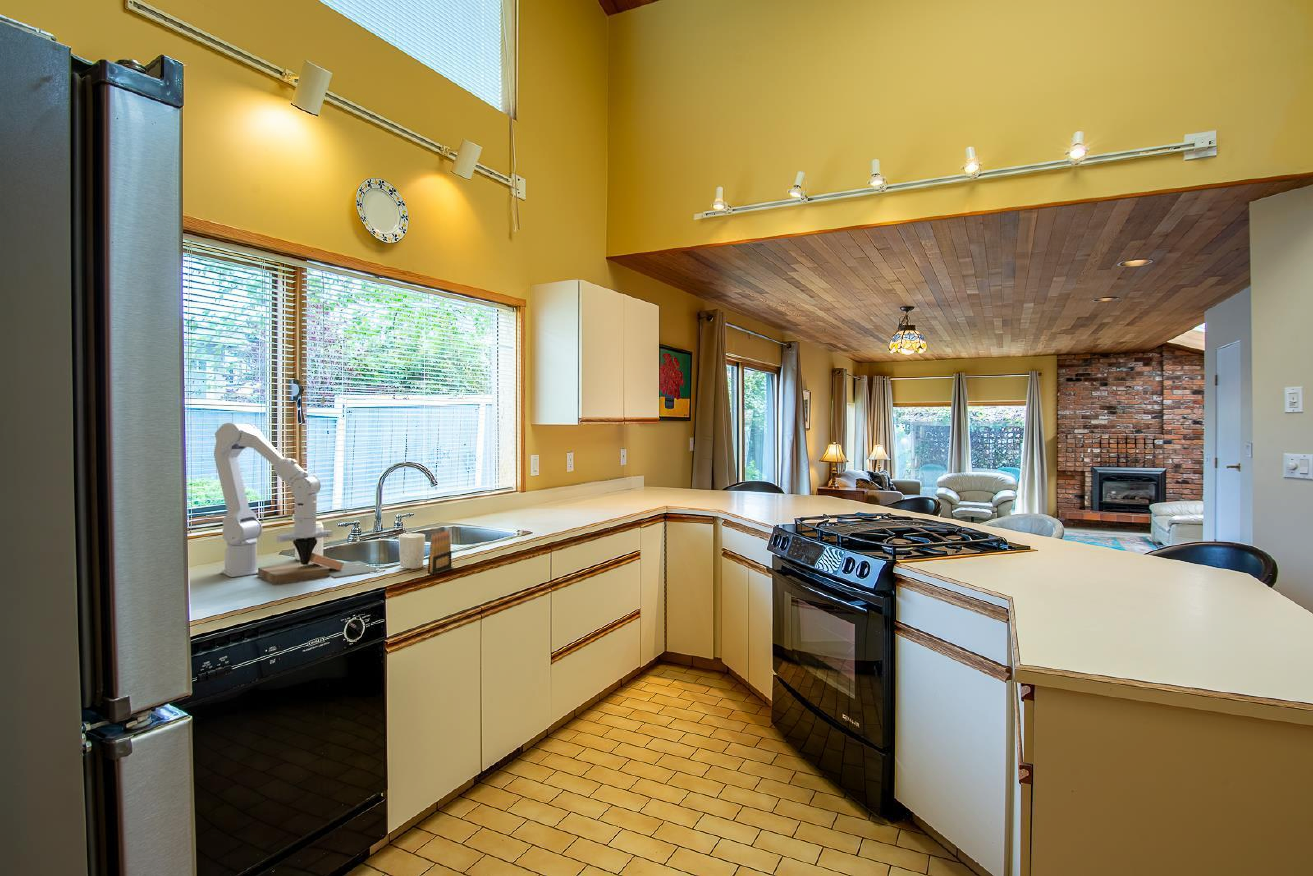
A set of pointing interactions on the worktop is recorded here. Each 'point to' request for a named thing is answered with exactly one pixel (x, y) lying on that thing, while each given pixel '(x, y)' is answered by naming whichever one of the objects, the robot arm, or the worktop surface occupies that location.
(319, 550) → the beverage can
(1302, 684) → the worktop surface
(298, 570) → the brown wooden flat slab
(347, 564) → the mat
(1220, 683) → the worktop surface
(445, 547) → the ammunition clip
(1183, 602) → the worktop surface
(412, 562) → the white cup
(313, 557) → the tile
